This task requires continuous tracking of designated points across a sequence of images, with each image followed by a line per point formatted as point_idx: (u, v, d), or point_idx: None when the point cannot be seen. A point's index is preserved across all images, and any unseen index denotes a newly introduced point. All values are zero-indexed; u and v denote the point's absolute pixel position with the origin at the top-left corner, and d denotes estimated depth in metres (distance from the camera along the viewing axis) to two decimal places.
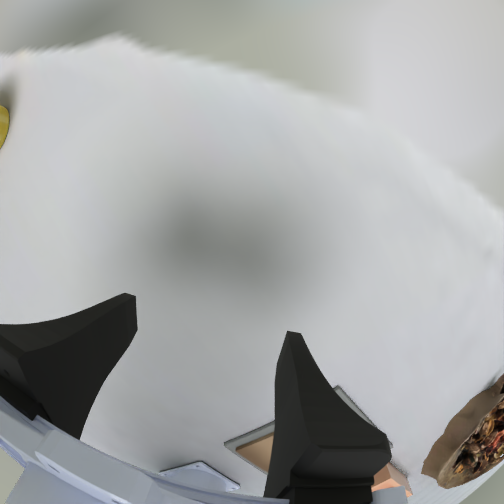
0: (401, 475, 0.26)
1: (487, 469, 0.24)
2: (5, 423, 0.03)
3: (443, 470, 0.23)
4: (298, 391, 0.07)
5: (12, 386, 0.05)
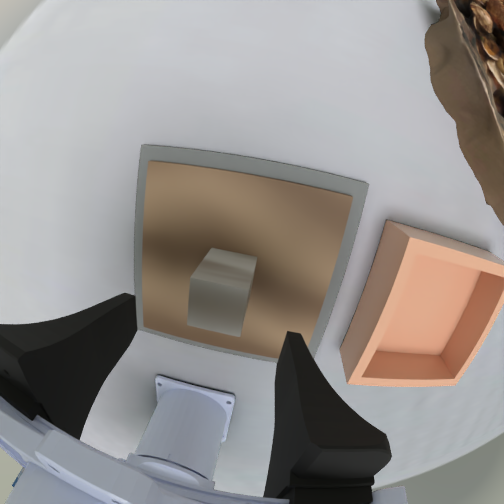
0: (467, 245, 0.16)
1: None
2: (5, 423, 0.03)
3: None
4: (298, 391, 0.07)
5: (12, 386, 0.05)
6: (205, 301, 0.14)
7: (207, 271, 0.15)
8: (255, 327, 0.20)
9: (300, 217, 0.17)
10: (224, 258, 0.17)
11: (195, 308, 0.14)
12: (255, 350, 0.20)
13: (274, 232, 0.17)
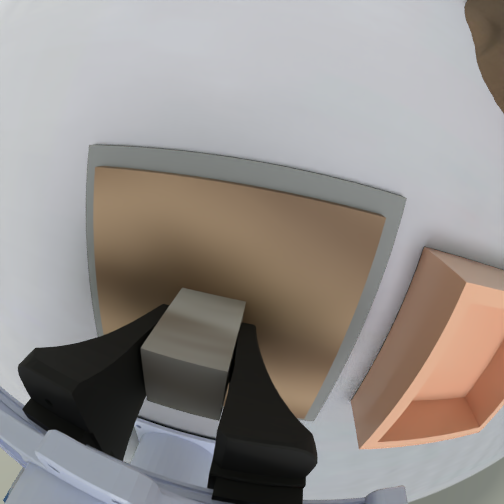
0: None
1: None
2: (5, 423, 0.03)
3: None
4: (231, 379, 0.08)
5: (54, 415, 0.05)
6: (166, 379, 0.09)
7: (167, 336, 0.09)
8: None
9: (308, 247, 0.11)
10: (197, 307, 0.11)
11: (153, 384, 0.09)
12: None
13: (270, 269, 0.12)
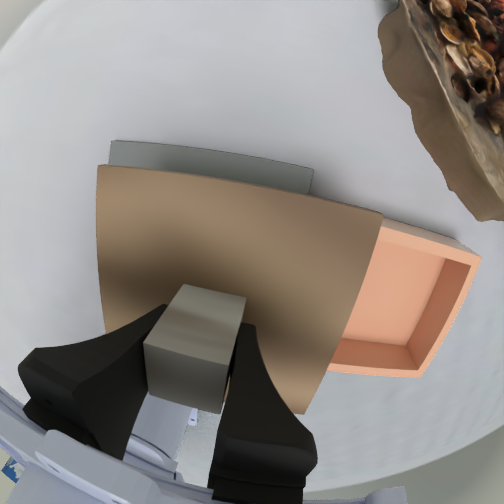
0: (426, 231, 0.17)
1: None
2: (5, 423, 0.03)
3: (493, 176, 0.13)
4: (231, 380, 0.08)
5: (54, 415, 0.05)
6: (168, 373, 0.09)
7: (169, 331, 0.09)
8: None
9: (307, 244, 0.11)
10: (198, 303, 0.12)
11: (155, 378, 0.09)
12: None
13: (270, 265, 0.12)
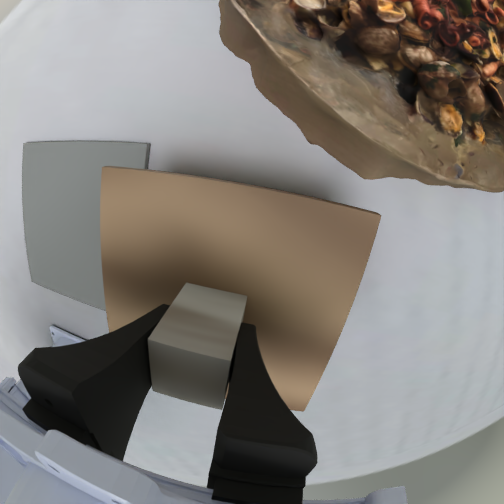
0: None
1: None
2: (5, 423, 0.03)
3: (353, 112, 0.13)
4: (231, 380, 0.08)
5: (54, 415, 0.05)
6: (171, 369, 0.09)
7: (173, 327, 0.10)
8: None
9: (307, 244, 0.12)
10: (201, 301, 0.12)
11: (159, 374, 0.10)
12: None
13: (270, 264, 0.12)
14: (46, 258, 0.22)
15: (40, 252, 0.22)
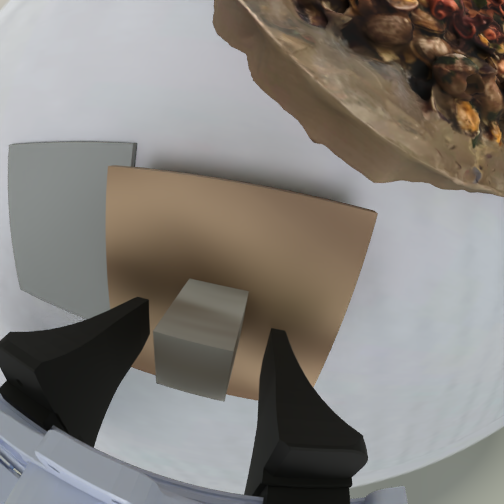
0: None
1: None
2: (5, 423, 0.03)
3: (363, 107, 0.11)
4: (275, 388, 0.08)
5: (25, 396, 0.05)
6: (176, 360, 0.10)
7: (177, 320, 0.10)
8: (247, 371, 0.15)
9: (306, 241, 0.12)
10: (204, 296, 0.12)
11: (163, 366, 0.10)
12: (248, 394, 0.16)
13: (271, 260, 0.13)
14: (33, 266, 0.20)
15: (27, 259, 0.20)
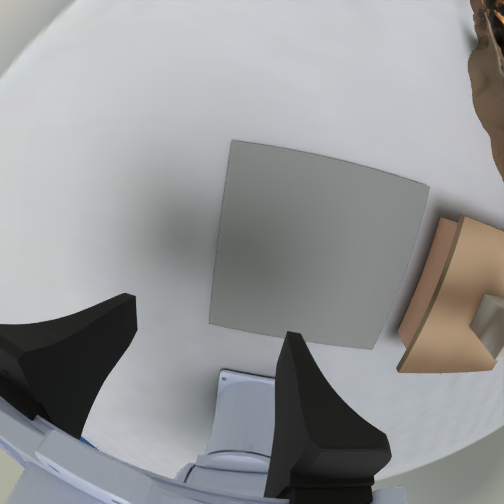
0: None
1: None
2: (5, 423, 0.03)
3: None
4: (298, 391, 0.07)
5: (12, 386, 0.05)
6: None
7: None
8: (481, 350, 0.17)
9: None
10: (500, 303, 0.14)
11: None
12: (473, 368, 0.18)
13: None
14: (256, 296, 0.22)
15: (245, 288, 0.22)
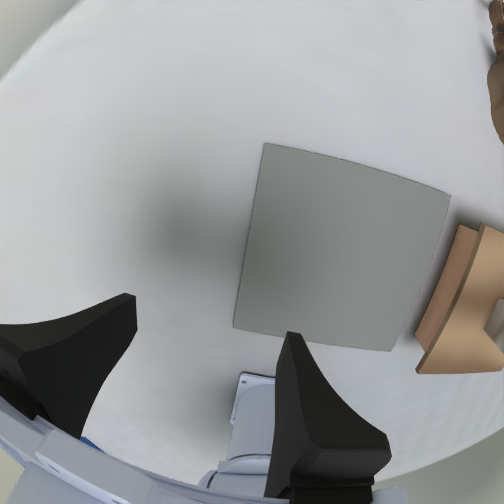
0: None
1: None
2: (5, 423, 0.03)
3: None
4: (298, 391, 0.07)
5: (12, 386, 0.05)
6: None
7: None
8: (493, 351, 0.17)
9: None
10: None
11: None
12: (484, 369, 0.18)
13: None
14: (283, 300, 0.22)
15: (272, 292, 0.22)
